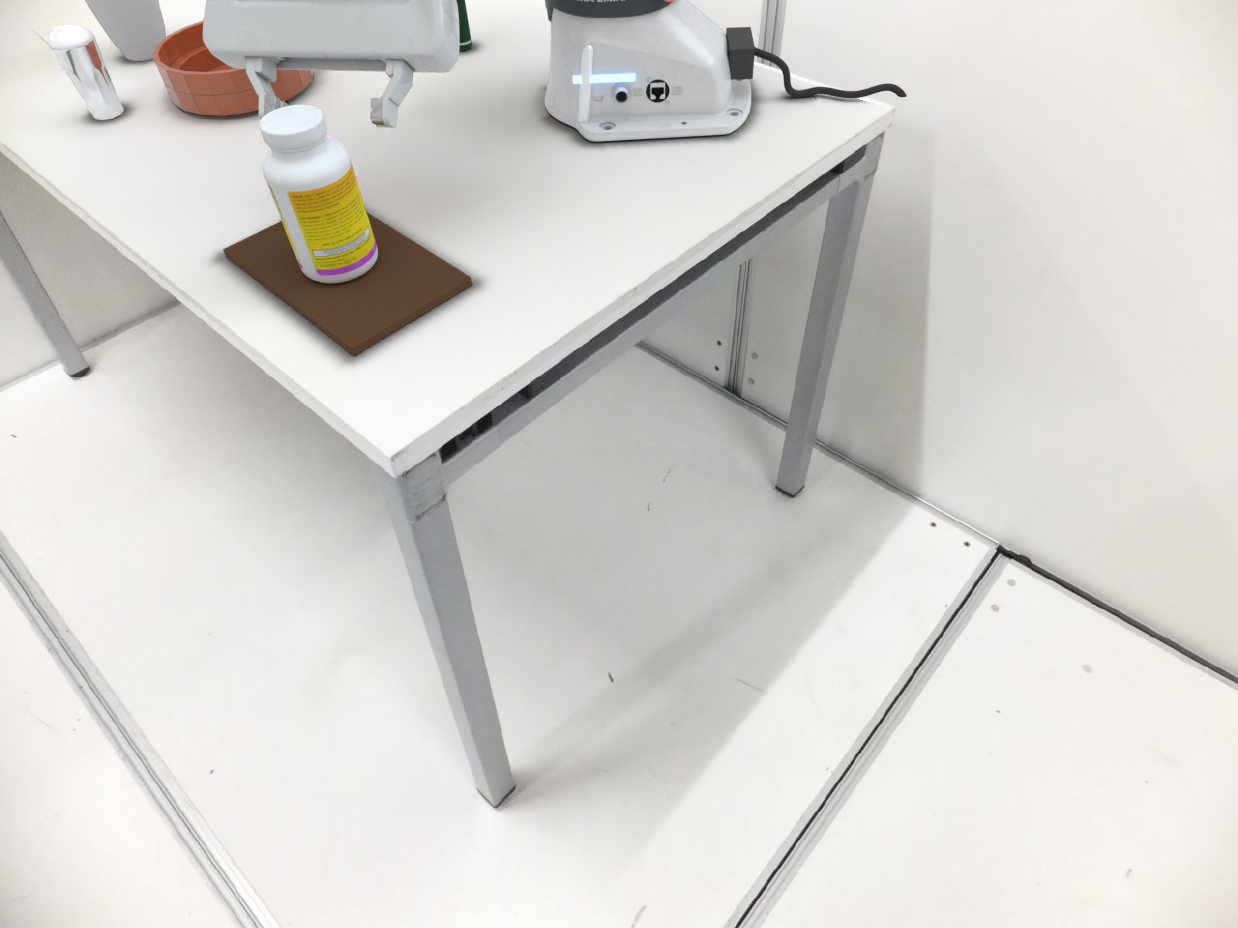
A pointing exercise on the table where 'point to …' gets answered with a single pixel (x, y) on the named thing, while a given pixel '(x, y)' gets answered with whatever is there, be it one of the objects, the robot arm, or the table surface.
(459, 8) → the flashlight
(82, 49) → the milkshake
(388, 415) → the table surface
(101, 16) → the cup
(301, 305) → the mat
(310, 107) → the supplement bottle
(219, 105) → the bowl
